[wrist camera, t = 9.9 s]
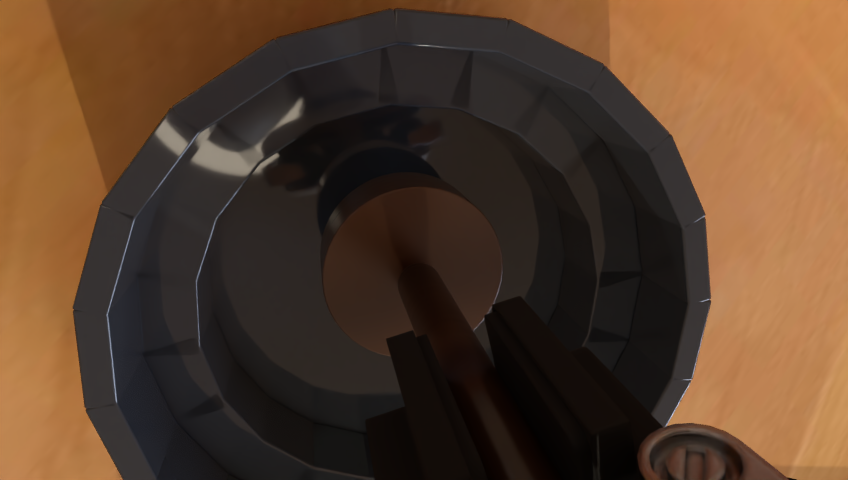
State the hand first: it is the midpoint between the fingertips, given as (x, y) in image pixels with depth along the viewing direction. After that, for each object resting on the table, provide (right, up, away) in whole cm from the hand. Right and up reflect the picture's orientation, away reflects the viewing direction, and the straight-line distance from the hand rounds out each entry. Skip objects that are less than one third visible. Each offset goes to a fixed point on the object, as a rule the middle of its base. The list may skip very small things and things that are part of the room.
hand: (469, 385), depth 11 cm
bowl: (-2, +2, +11) cm, 11 cm away
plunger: (-2, +2, +7) cm, 8 cm away
